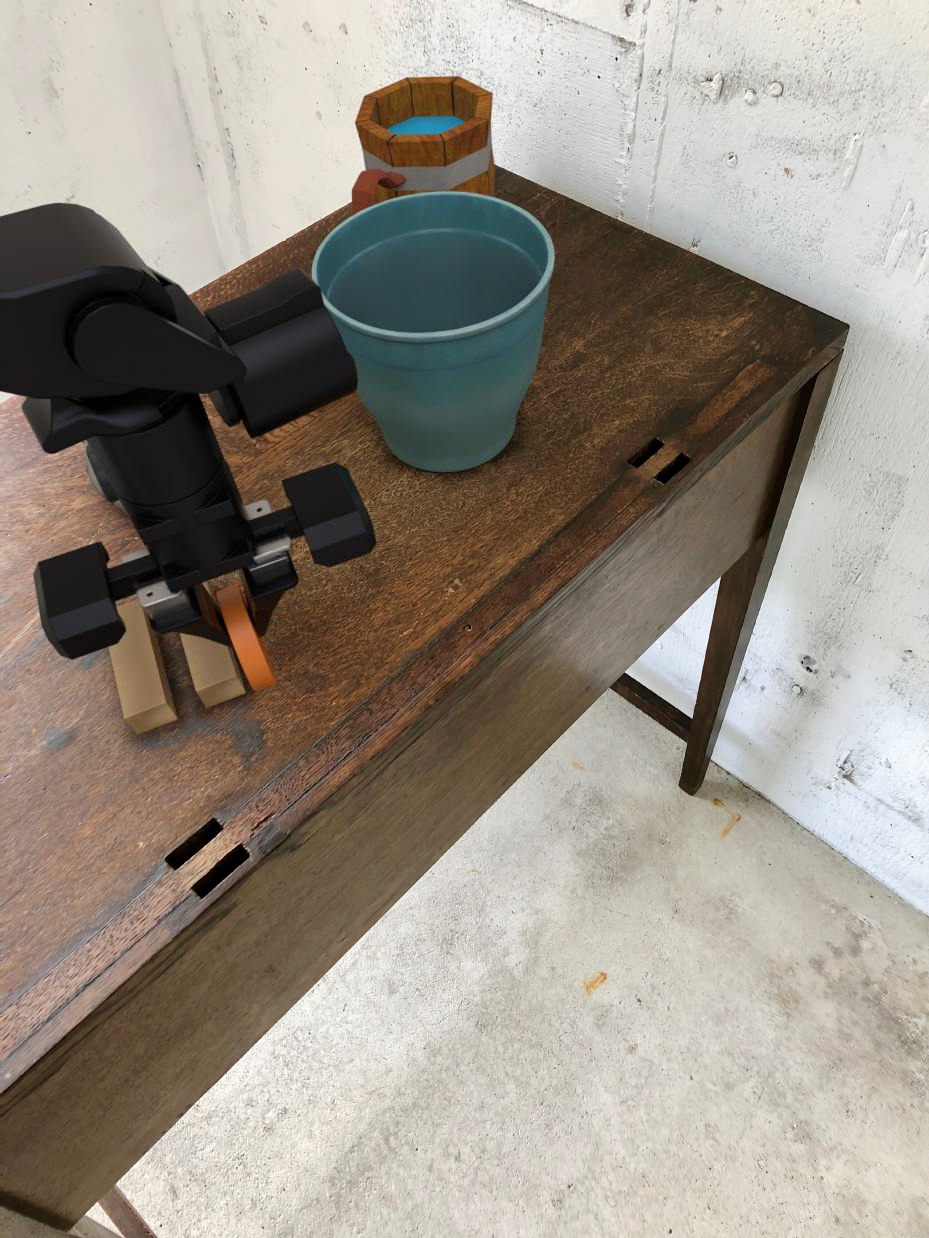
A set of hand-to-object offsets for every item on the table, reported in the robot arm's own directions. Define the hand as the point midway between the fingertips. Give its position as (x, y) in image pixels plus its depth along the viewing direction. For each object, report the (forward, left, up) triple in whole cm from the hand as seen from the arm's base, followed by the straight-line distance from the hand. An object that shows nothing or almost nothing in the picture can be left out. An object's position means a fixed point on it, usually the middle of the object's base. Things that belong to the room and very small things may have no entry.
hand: (246, 636), depth 57 cm
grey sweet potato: (-5, +24, -8) cm, 26 cm away
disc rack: (-6, +6, -8) cm, 11 cm away
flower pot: (+22, +20, -8) cm, 31 cm away
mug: (+29, +44, -8) cm, 53 cm away
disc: (0, 0, -4) cm, 4 cm away
